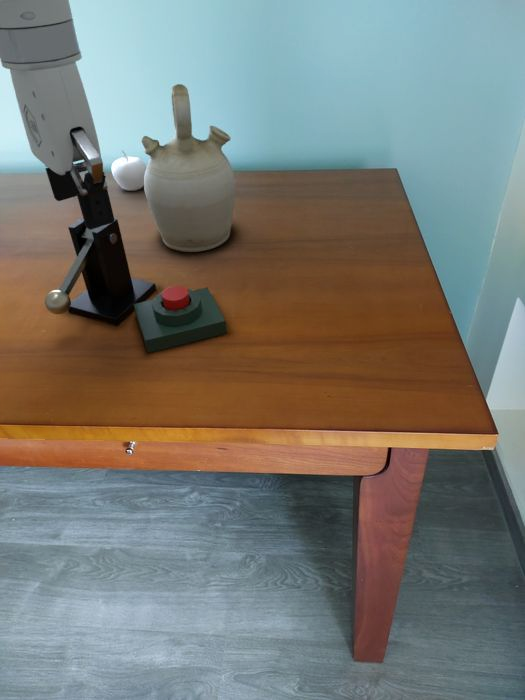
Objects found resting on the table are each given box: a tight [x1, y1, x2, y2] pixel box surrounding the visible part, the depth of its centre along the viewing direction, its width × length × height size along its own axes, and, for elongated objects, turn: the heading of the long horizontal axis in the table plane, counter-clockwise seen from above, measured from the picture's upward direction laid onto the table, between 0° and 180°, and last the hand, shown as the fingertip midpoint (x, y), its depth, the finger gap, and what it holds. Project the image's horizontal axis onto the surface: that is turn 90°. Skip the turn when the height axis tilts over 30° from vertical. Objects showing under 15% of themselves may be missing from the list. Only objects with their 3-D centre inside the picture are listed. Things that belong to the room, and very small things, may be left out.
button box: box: [134, 287, 227, 354], centre depth 73 cm, size 11×9×4 cm
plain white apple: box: [111, 149, 147, 192], centre depth 110 cm, size 7×7×8 cm
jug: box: [141, 83, 236, 253], centre depth 87 cm, size 15×16×25 cm
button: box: [161, 285, 190, 311], centre depth 72 cm, size 4×4×2 cm
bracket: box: [67, 217, 157, 326], centre depth 76 cm, size 10×9×13 cm
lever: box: [44, 227, 99, 315], centre depth 71 cm, size 14×3×3 cm, turn 155°
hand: (83, 210), depth 62 cm, fingers open, 9 cm apart
